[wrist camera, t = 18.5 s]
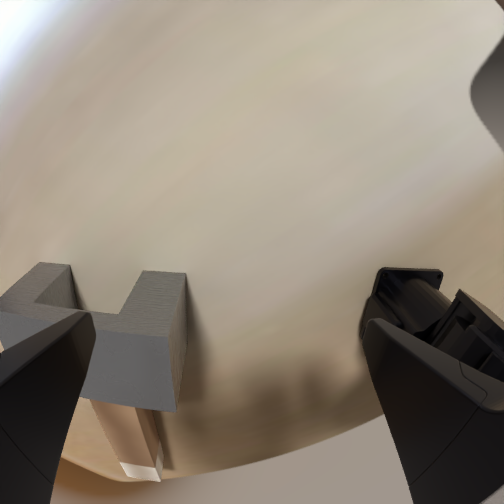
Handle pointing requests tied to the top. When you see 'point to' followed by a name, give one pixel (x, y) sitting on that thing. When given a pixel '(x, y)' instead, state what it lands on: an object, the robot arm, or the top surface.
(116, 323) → the grey u-shaped block
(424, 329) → the robot arm
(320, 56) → the top surface
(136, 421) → the plug rod
